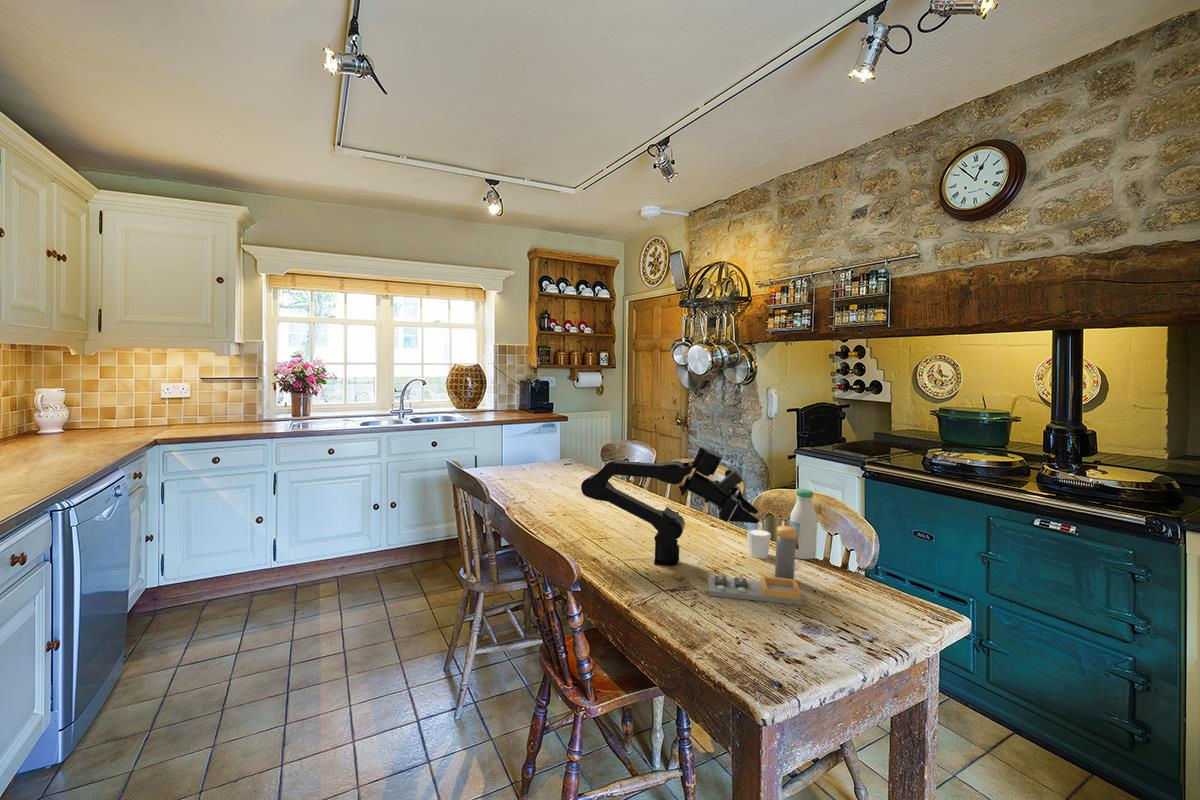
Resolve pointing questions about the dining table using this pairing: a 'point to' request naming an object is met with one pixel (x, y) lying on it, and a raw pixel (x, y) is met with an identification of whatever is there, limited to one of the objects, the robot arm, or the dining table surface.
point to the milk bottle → (804, 525)
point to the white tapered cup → (758, 543)
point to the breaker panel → (756, 589)
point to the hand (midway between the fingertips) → (757, 516)
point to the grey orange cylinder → (785, 552)
